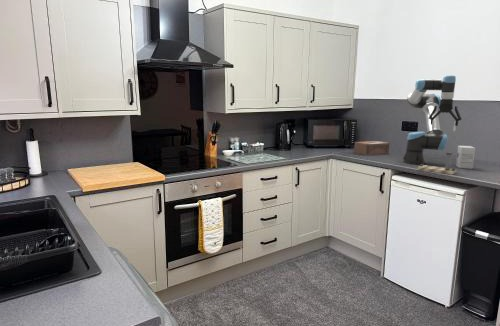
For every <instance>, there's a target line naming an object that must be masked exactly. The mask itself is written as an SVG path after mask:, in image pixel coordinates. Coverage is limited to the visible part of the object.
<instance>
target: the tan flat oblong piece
mask: <svg viewBox="0 0 500 326" xmlns="http://www.w3.org/2000/svg"><path fill="white" fill-rule="evenodd" d="M417 171H422V172H423V171H424V172H432V173H437V174H444V175H445V174H446V175H454V174H456V173H457V169H456V167H452V168H450V170H447V169H445V167H440V166H435V165H433V166H432V165H424V164H418V167H417Z"/></svg>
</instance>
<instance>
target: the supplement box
mask: <svg viewBox="0 0 500 326" xmlns="http://www.w3.org/2000/svg"><path fill="white" fill-rule="evenodd" d="M475 156H476V147H473V146H472V145H457V152H456V160H455V166H456V167H457V168H459V169H471V170H472V169H474V165H475V164H474V162H475Z"/></svg>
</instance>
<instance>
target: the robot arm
mask: <svg viewBox="0 0 500 326" xmlns="http://www.w3.org/2000/svg"><path fill="white" fill-rule="evenodd" d="M456 78H457V77H456V76H455V75H444V76H443V77H442V79H440V78H439V79H437V78H435V79H433V78H432V79H431V78H430V79H429V78H428V79H426V78H424V79H423V78H422V79H417V80H416V81H415V84H414V86H415V87H414V90H413V91H412V92H410V93H409V94H408V95H407V98H406V100H407V103H408V105H409V106H410V107H412V108H413V109H422V111H423V113H424V115H425V121H426V129H427V131H412V132H409V133H408V134H407V138H406V140H407V141H406V151H405V154H404V156H403V158H402V162H403V163H405V164H410V165H411V164H412V165H420V164H423V165H424V164H425V161H426V159H425V156H424V150H432V151H433V150H435V151H440V150H441V151H443V150H444V149H445V148H446V146H447V142H448V135H447V134H445V133H444V131H443V130H442V129H441V127H440V126H441V125H440V119H439V115H440V114H441V113H443V114H444V113H446V114H450V115H451V116H452V118H453V119H454V121H453V129H452V131H453V132H456V129H457V128H456V127H457V126H458V125H459V122H460V121H462V120H463V119H462V116H461V114H460V112H459V108H458V106H457V105H456V106H453V104H454V96H455V87H456V81H457V80H456ZM428 91H441V93H440V95H439V94H437V93H430V94H429V93H426V92H428ZM453 110H454V112H455V113H454V112H453ZM455 114H456V115H455Z"/></svg>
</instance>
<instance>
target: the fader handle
mask: <svg viewBox="0 0 500 326" xmlns="http://www.w3.org/2000/svg"><path fill="white" fill-rule="evenodd" d="M445 153H446V156H445V166H444V168H445V169H447V170H450V169H452V168H451V166H452V160H453V152H452V151H448V152H445Z"/></svg>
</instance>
